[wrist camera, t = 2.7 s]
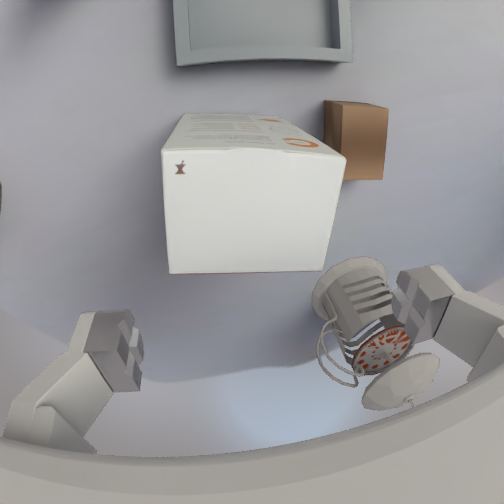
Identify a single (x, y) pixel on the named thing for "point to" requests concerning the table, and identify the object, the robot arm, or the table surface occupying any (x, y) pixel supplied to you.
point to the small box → (247, 195)
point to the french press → (379, 345)
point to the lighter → (0, 195)
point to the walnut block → (357, 137)
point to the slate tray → (262, 31)
